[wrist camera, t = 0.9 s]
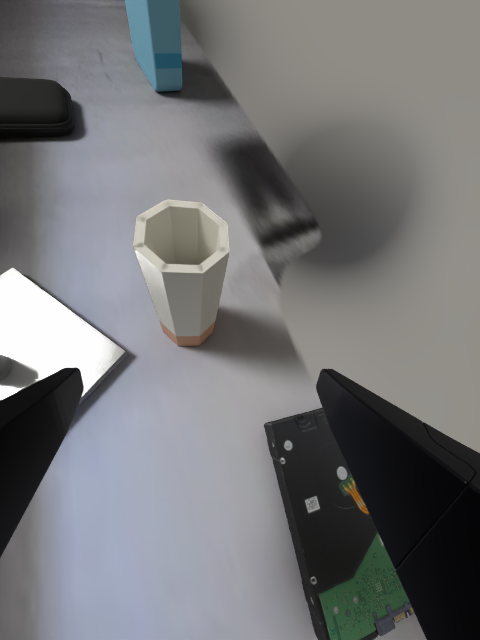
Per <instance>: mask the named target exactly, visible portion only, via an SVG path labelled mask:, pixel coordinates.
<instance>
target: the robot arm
mask: <svg viewBox="0 0 480 640" xmlns="http://www.w3.org/2000/svg"><path fill="white" fill-rule="evenodd" d="M316 389H317V393H318V396H319V399H320V402H321V404H322V407H323V410H324V413H325V416H326V419H327V422H328V424H329V427H330V429H331V431H332V434H333V436H334V438H335V440H336V442H337V445H338V447H339V449H340V451H341V453H342V455H343V458H344V460H345V462H346V464H347V466H348V468H349V471H350V473H351V475H352V477H353V479H354V482H355V484H356V486H357V488H358V490H359V492H360V495H361V497H362V499H363V501H364V503H365V506H366V508H367V510H368V512H369V514H370V516H371V519H372V521H373V523H374V525H375V527H376V529H377V532H378V534H379V536H380V538H381V540H382V543H383V545H384V547H385V549H386V551H387V553H388V556H389V558H390V560H391V562H392V564H393V567H394V568H395V569H396V570H395V571H396V573H397V576H398V578H399V580H400V582H401V584H402V587H403V589H404V591H405V593H406V595H407V597H408V600H409V602H410V604H411V606H412V608H413V610H414V613H415V615H416V617H417V619H418V621H419V624H420V626H421V628H422V630H423V632H424V634H425V637H426V639H427V640H480V453H478V452H476V451H474V450H473V449H471V448H469V447H467V446H465V445H463V444H461V443H459V442H458V441H456V440H454V439H452V438H450V437H449V436H447V435H445V434H443V433H441V432H440V431H438V430H436V429H434V428H433V427H431V426H429V425H428V424H426V423H422V421H421V420H419V419H417V418H416V417H414V416H412V415H410V414H409V413H407V412H405V411H404V410H402V409H400V408H398V407H397V406H395V405H393V404H391V403H390V402H388V401H386V400H384V399H383V398H381V397H379V396H378V395H376V394H374V393H373V392H371V391H369V390H367V389H366V388H364V387H362V386H361V385H359V384H357V383H355V382H354V381H352V380H350V379H348V378H347V377H345V376H343V375H342V374H340V373H338V372H336V371H335V370H333V369H322V371H321V372H320V375H319V379H318V382H317V385H316ZM83 390H84V385H83V380H82V376H81V371H80V369H79V368H77V367H65V368H63V369H61V370H59V371H57V372H55V373H53V374H51V375H49V376H47V377H45V378H43V379H41V380H39V381H37V382H35V383H33V384H31V385H29V386H27V387H25V388H23V389H22V390H20V391H18V392H16V393H14V394H12V395H10V396H8V397H6V398H4V399H2V400H0V558H1V556H2V554H3V552H4V550H5V548H6V546H7V544H8V543H9V541H10V539H11V537H12V535H13V533H14V531H15V529H16V528H17V526H18V524H19V522H20V520H21V518H22V516H23V515H24V513H25V511H26V509H27V507H28V505H29V503H30V501H31V500H32V498H33V496H34V494H35V492H36V490H37V488H38V486H39V485H40V483H41V481H42V479H43V477H44V475H45V473H46V471H47V470H48V468H49V466H50V464H51V462H52V460H53V458H54V456H55V455H56V453H57V451H58V449H59V447H60V445H61V443H62V441H63V439H64V437H65V436H66V433H67V431H68V429H69V426H70V424H71V421H72V419H73V416H74V414H75V411H76V409H77V406H78V404H79V401H80V399H81V396H82V394H83Z"/></svg>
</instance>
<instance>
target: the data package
mask: <svg viewBox="0 0 480 640" xmlns="http://www.w3.org/2000/svg"><path fill="white" fill-rule="evenodd" d="M125 3H126V9H127V15H128V21H129V27H130V33H131V39H132V45H133V50H134V54H135V57H136V60H137V62H138V63H139V65H140V67H141V68H142V70H143V72H144V73H145V75H146V77H147V78H148V80H149V82H150V83H151V85H152V87H153V88H154V90H155V91H156V92H161V91H180V90H181V89H182V56H181V29H180V3H179V0H125Z"/></svg>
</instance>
